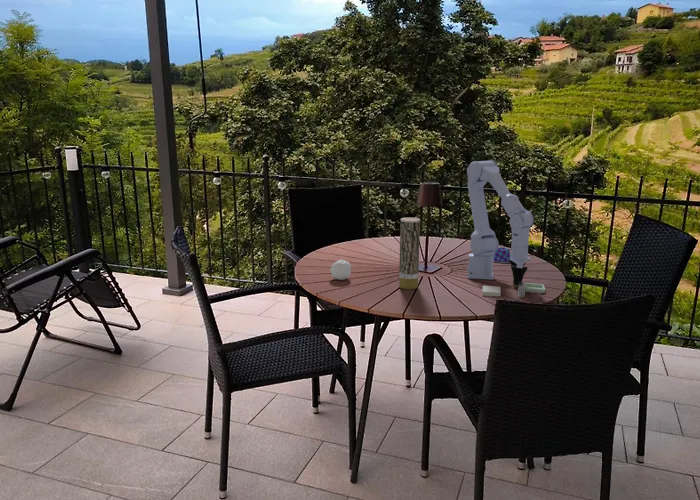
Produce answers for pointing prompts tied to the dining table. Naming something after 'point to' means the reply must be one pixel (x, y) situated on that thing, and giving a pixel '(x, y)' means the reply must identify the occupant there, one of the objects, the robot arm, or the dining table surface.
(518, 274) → the robot arm
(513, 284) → the dowel
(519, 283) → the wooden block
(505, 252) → the multicoloured piece
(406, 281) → the paper tube
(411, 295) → the dining table surface
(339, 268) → the white lumpy ball
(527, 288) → the tray
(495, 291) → the tile
